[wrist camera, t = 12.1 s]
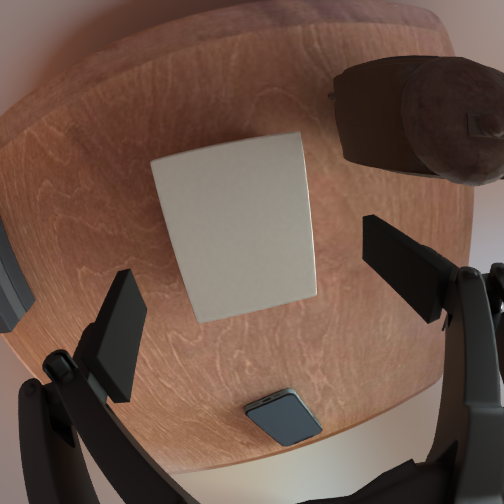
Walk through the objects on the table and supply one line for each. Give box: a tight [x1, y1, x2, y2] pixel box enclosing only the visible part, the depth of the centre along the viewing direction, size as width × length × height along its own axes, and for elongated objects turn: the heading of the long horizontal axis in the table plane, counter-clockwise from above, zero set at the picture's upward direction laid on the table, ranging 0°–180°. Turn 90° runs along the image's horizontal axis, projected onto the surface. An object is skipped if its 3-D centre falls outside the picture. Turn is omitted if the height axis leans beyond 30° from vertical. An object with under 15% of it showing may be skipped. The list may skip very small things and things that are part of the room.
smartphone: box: [244, 389, 322, 446], centre depth 37 cm, size 8×2×15 cm
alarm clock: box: [328, 55, 504, 186], centre depth 13 cm, size 14×7×20 cm, turn 100°
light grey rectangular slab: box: [150, 131, 317, 323], centre depth 20 cm, size 13×10×2 cm
